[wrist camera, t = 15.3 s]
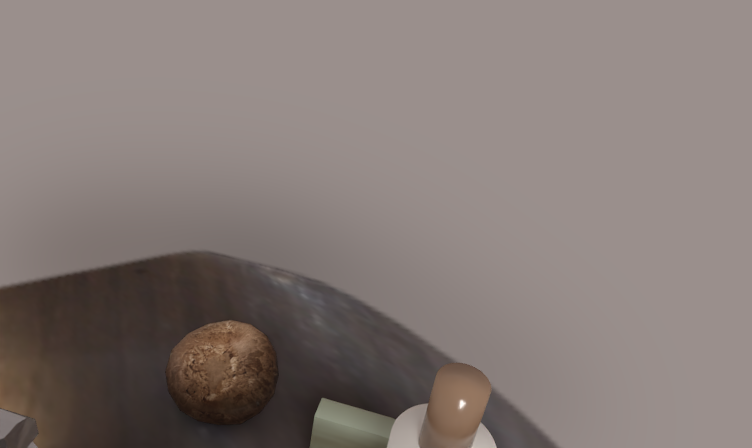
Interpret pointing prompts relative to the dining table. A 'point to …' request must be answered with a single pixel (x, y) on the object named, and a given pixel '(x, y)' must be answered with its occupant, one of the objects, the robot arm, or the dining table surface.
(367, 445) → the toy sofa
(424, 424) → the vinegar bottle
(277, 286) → the dining table surface
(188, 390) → the mushroom
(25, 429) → the robot arm
